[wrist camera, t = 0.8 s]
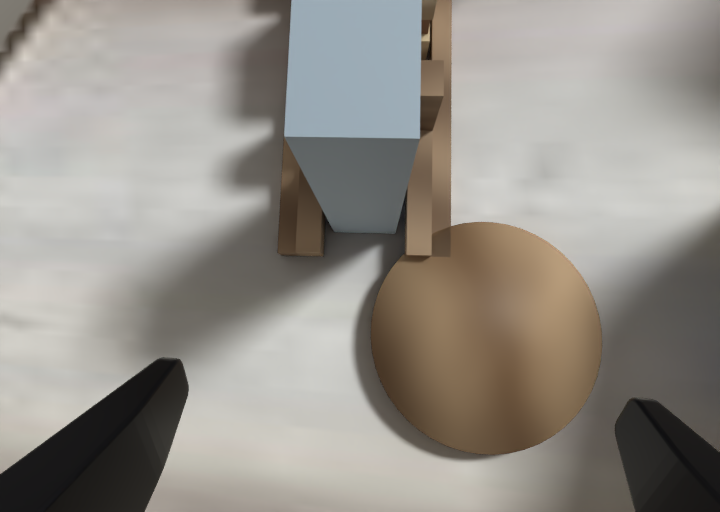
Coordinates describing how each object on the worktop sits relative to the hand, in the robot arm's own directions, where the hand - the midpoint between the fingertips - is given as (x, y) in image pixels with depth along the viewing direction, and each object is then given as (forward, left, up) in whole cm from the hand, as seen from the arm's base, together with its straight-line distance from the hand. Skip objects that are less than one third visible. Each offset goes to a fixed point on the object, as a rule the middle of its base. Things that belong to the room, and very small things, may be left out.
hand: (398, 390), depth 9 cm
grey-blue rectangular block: (+2, +7, -13) cm, 15 cm away
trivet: (+5, -2, -13) cm, 14 cm away
